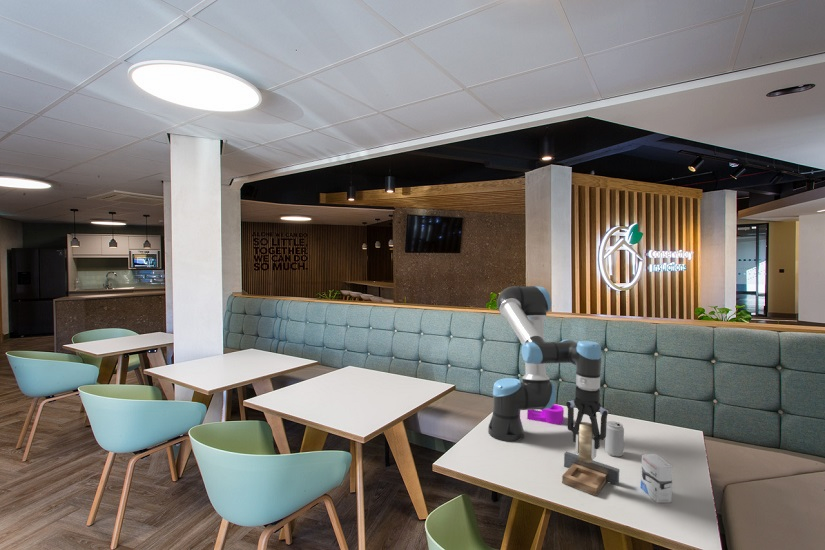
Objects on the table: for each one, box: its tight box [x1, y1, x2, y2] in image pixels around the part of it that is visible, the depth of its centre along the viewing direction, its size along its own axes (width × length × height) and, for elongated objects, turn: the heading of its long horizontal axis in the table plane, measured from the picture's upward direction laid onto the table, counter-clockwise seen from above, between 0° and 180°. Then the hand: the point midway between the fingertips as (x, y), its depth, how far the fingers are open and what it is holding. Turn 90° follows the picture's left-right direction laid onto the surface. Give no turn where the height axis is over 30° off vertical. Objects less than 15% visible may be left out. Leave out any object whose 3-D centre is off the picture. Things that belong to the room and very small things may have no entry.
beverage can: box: [604, 420, 625, 458], centre depth 154 cm, size 6×6×12 cm
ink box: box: [640, 453, 674, 504], centre depth 127 cm, size 8×5×12 cm, turn 5°
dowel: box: [577, 421, 594, 463], centre depth 133 cm, size 4×4×12 cm
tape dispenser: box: [526, 403, 565, 425], centre depth 187 cm, size 16×10×6 cm, turn 68°
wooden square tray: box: [561, 463, 607, 497], centre depth 134 cm, size 11×11×2 cm
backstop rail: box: [563, 451, 620, 487], centre depth 139 cm, size 18×2×5 cm, turn 49°
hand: (585, 454), depth 133 cm, fingers closed on dowel, 4 cm apart
